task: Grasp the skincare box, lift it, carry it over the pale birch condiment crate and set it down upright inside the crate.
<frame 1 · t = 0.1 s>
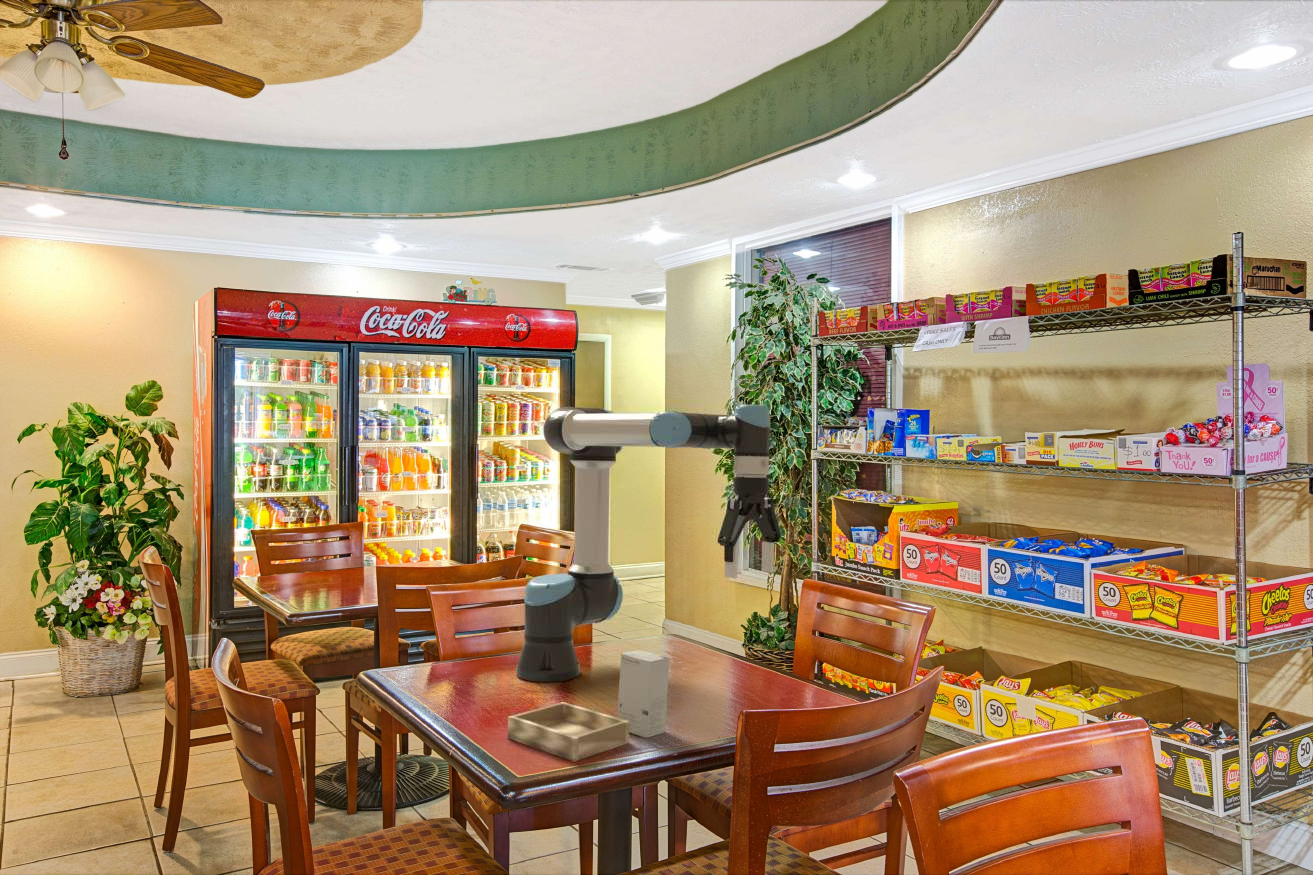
hand: (749, 574, 193), 28 cm above the table, fingers open, 13 cm apart
crate: (568, 740, 166), on the table
skincare box: (642, 731, 173), on the table
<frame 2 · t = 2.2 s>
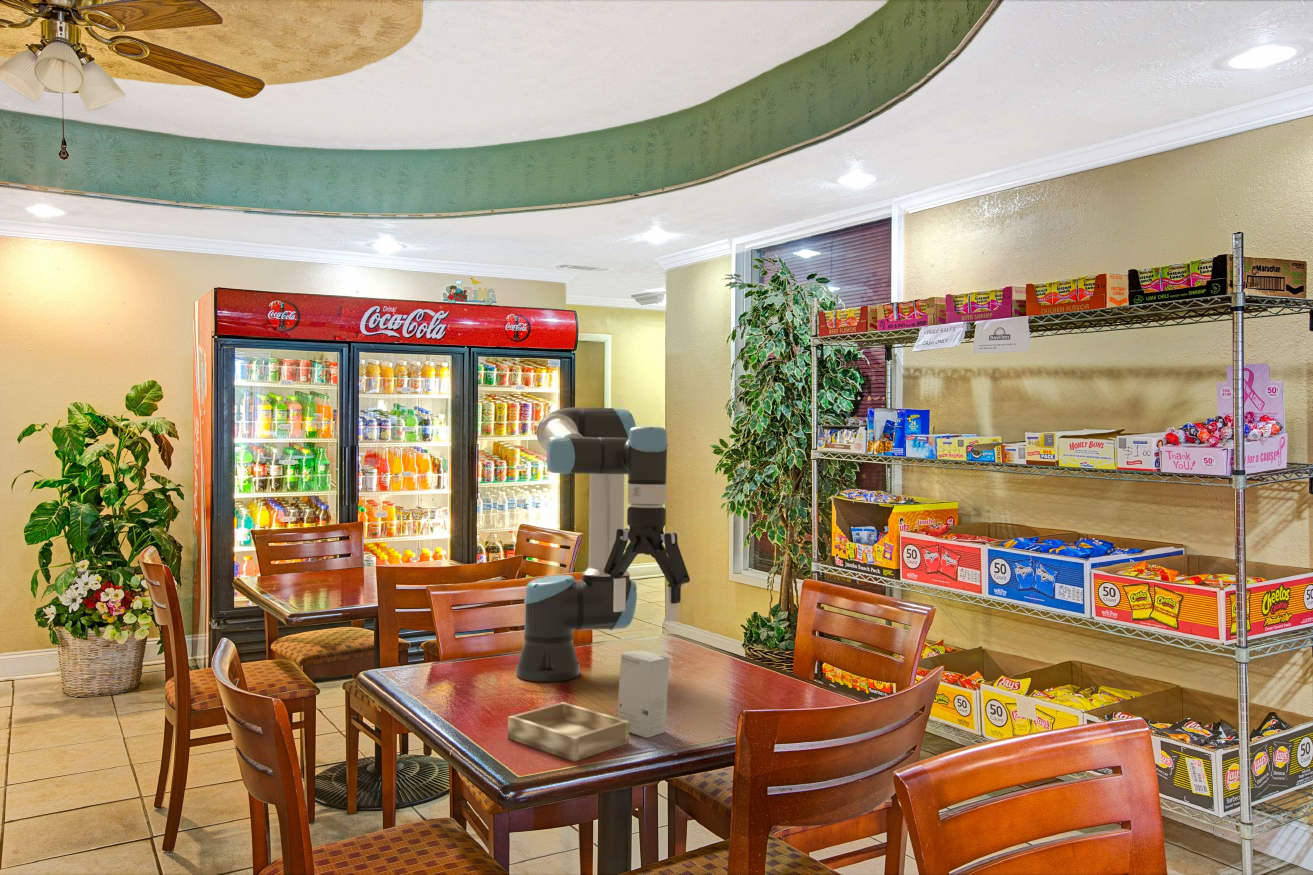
hand: (644, 615, 173), 22 cm above the table, fingers open, 13 cm apart
nothing on the table moved.
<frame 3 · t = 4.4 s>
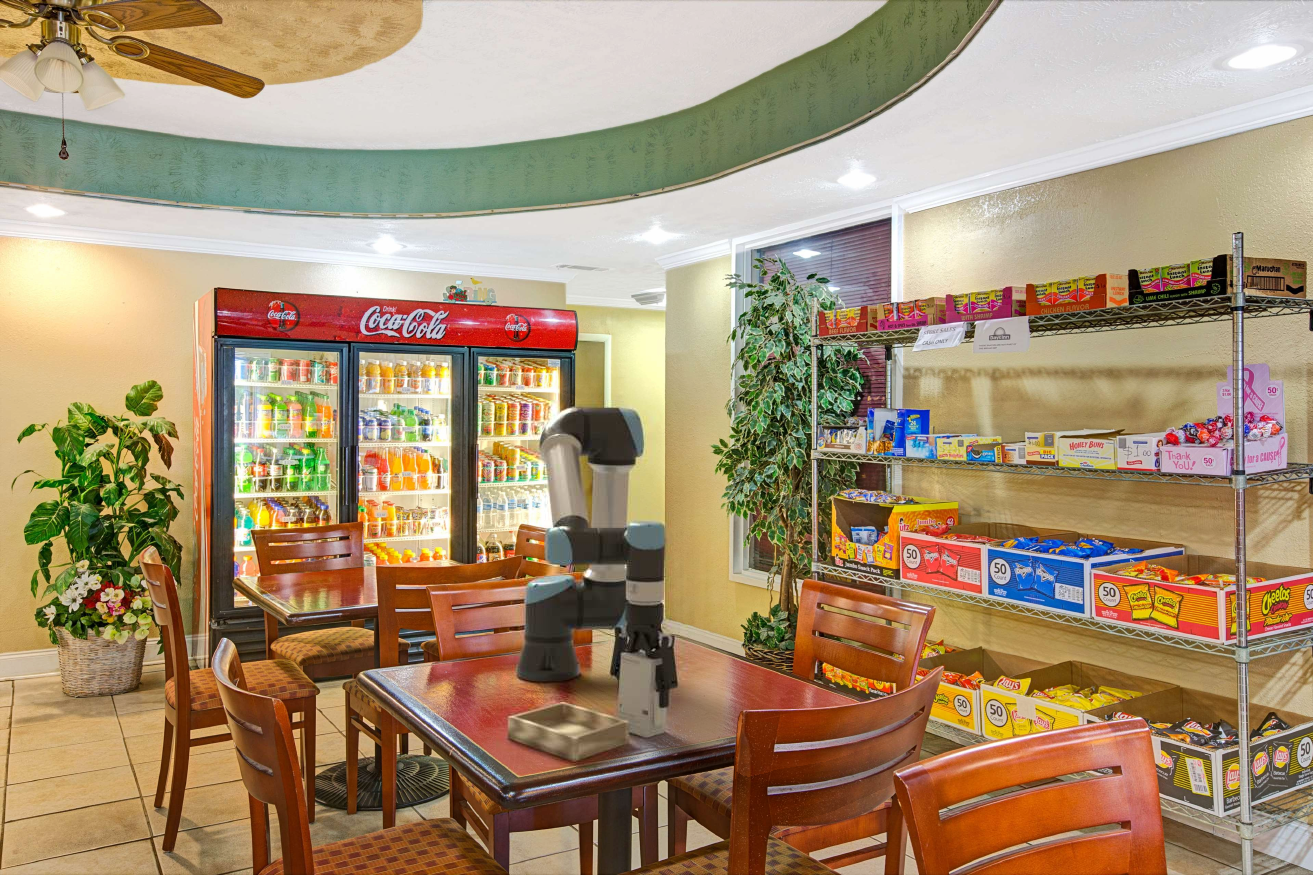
hand: (642, 718, 173), 2 cm above the table, fingers closed on skincare box, 8 cm apart
skincare box: (642, 731, 173), on the table, touching gripper
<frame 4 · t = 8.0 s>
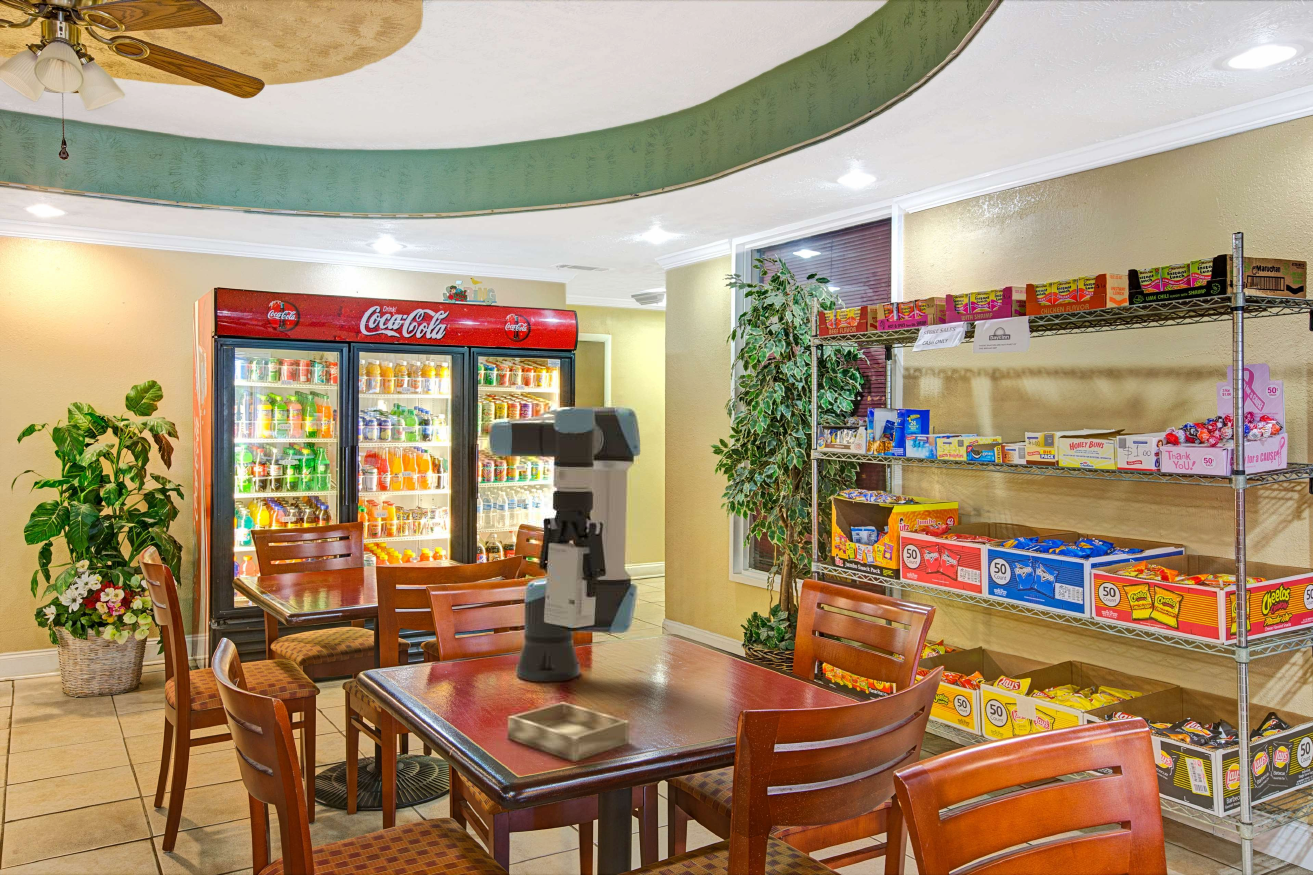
hand: (570, 611, 167), 24 cm above the table, fingers closed on skincare box, 8 cm apart
skincare box: (570, 624, 167), point 22 cm above the table, touching gripper
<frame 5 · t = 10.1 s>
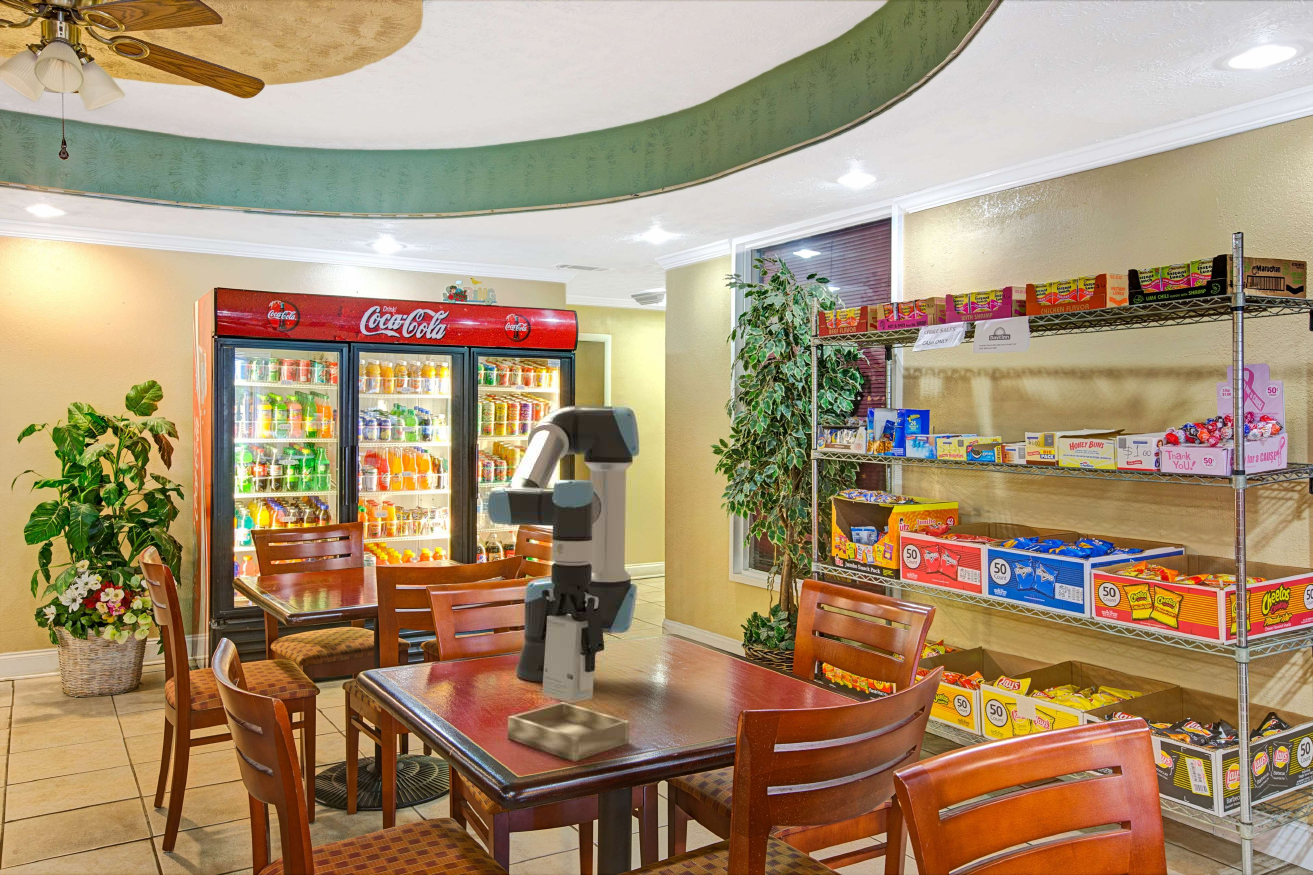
hand: (569, 684, 166), 10 cm above the table, fingers closed on skincare box, 8 cm apart
skincare box: (568, 697, 166), point 8 cm above the table, touching gripper
when the fingers open (5 cm above the table, at t = 11.8 s): skincare box drops 1 cm, resting on crate.
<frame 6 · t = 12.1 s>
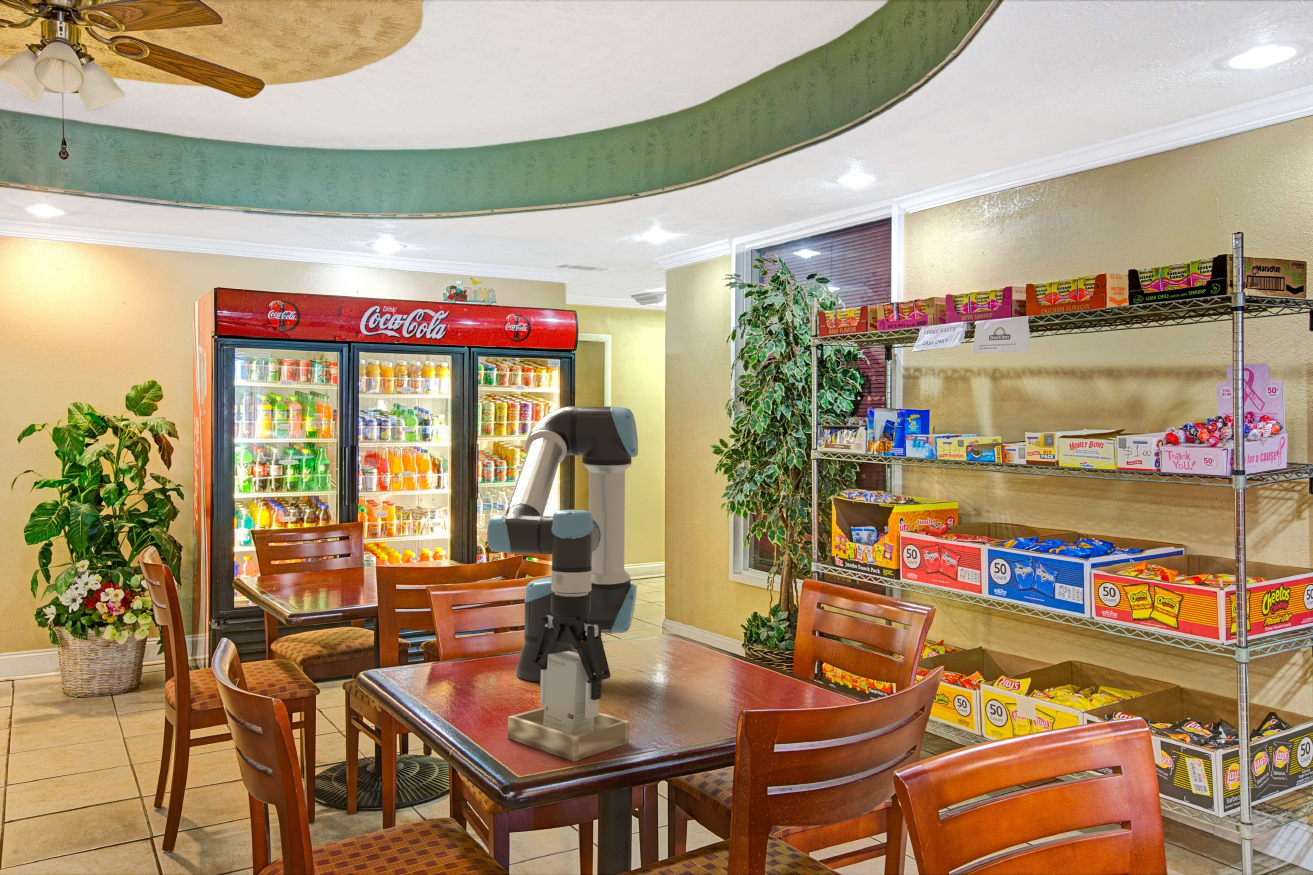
hand: (568, 709, 166), 6 cm above the table, fingers open, 11 cm apart
skincare box: (569, 736, 166), point 1 cm above the table, touching crate
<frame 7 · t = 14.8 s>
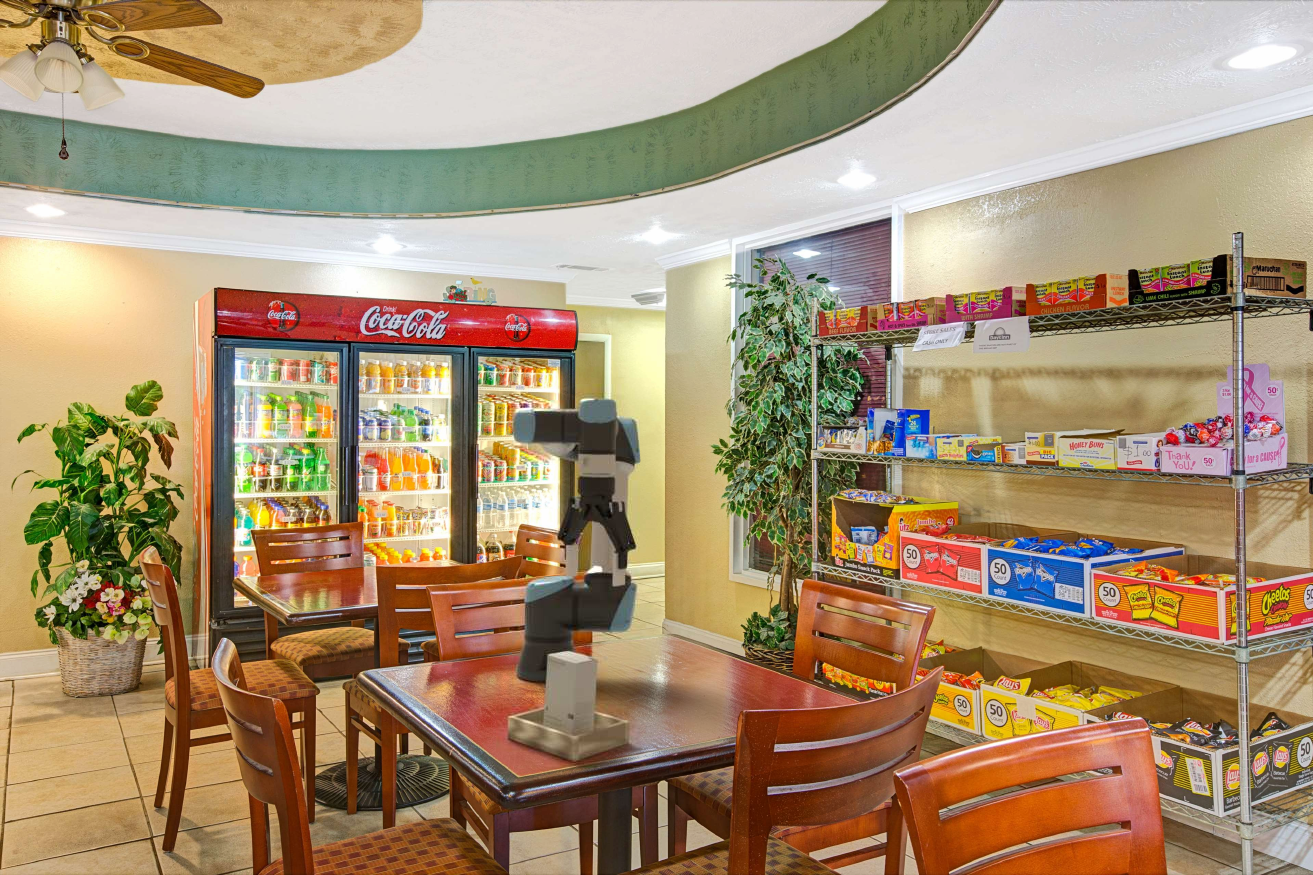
hand: (594, 580, 180), 28 cm above the table, fingers open, 13 cm apart
nothing on the table moved.
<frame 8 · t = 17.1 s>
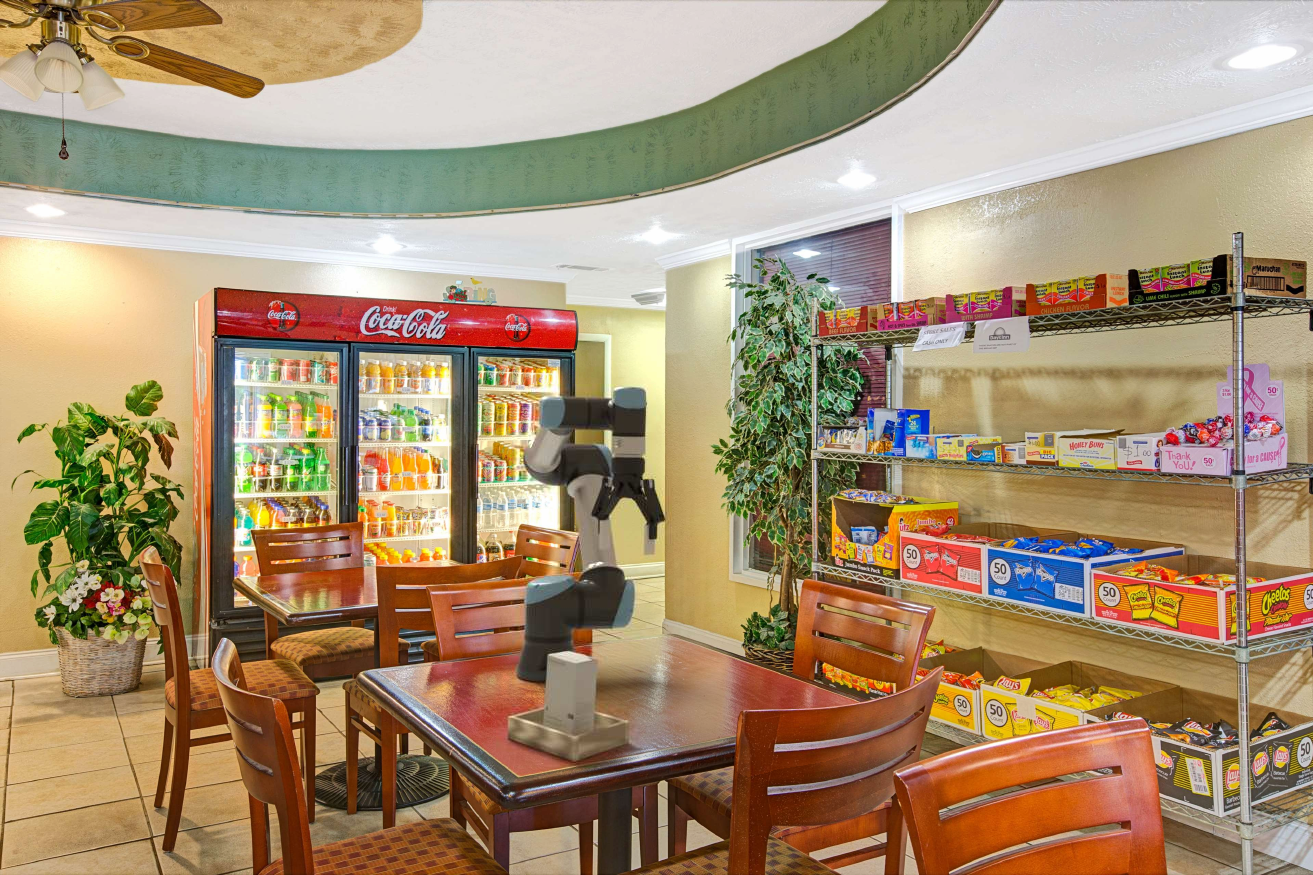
hand: (626, 551, 199), 32 cm above the table, fingers open, 13 cm apart
nothing on the table moved.
at the end: skincare box inside the target area on the crate (0.3 cm from its centre), point 0.8 cm above the crate's base; skincare box tilted 0°; the gripper is holding nothing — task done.
